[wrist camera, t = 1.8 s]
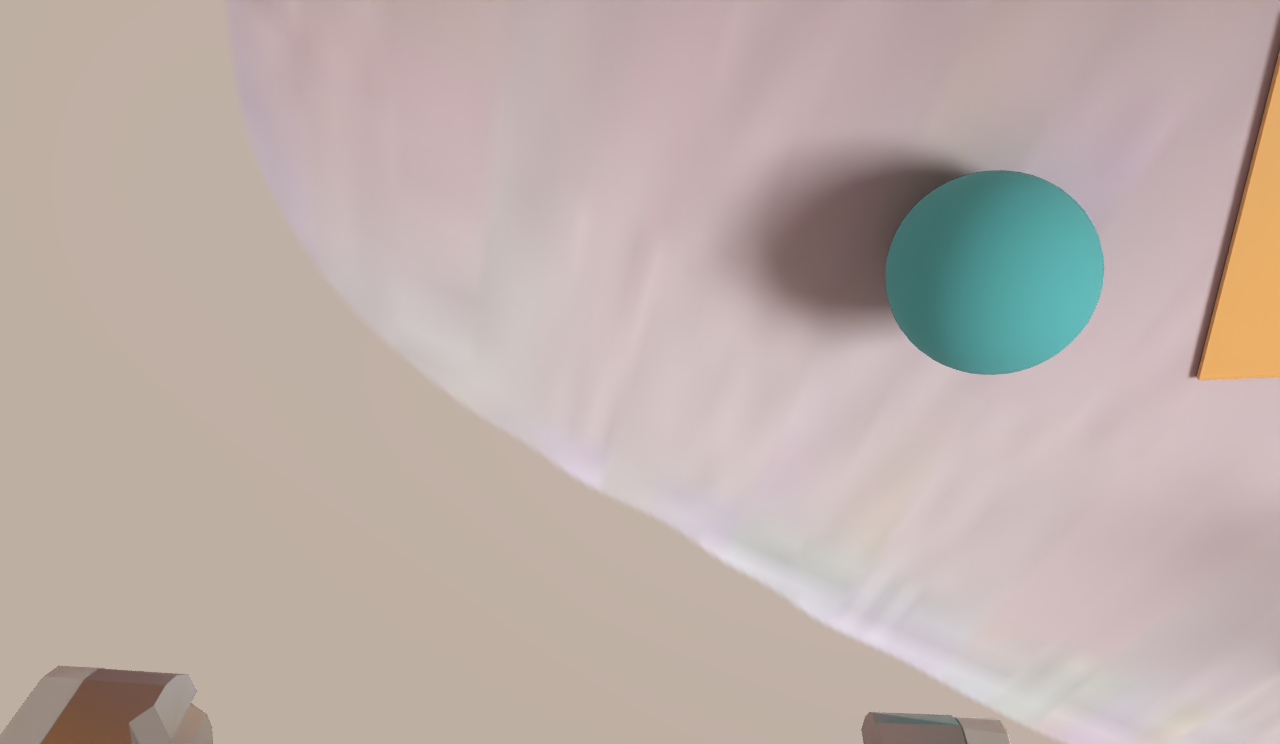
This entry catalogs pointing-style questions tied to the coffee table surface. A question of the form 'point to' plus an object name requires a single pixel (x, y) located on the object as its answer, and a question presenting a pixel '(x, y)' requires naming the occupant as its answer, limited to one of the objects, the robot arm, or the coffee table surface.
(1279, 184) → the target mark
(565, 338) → the coffee table surface
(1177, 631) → the coffee table surface
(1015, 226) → the ball
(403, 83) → the coffee table surface
